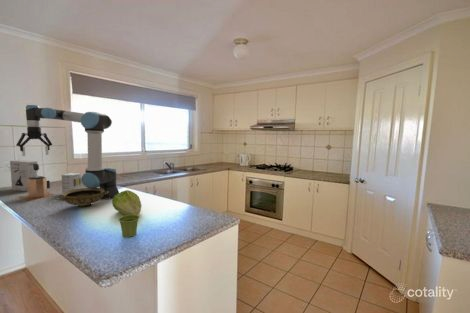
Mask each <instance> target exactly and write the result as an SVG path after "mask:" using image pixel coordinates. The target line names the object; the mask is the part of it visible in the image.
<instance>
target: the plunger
mask: <svg viewBox="0 0 470 313" xmlns="http://www.w3.org/2000/svg"><path fill="white" fill-rule="evenodd" d="M33 170H35V172H36V177H38V176H39V174H38V175H37V170H38V171H39V170H40V165H39V163H38V162H37V164H33Z"/></svg>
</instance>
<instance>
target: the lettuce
mask: <svg viewBox="0 0 470 313" xmlns="http://www.w3.org/2000/svg"><path fill="white" fill-rule="evenodd" d="M111 202H112V207H113V208H114V210H115V211H117V212H118V213H120V214H121V215H124V216H126V215H138V216H139V215H140V214H141V211H142V202H141V200H140V197H139V195H138V194H137V193H135V192H134V191H132V190H129V189H126V190H123V191H122V190H121V191H119V194H117V195H115V196H114V198H112V200H111Z"/></svg>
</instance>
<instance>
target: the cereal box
mask: <svg viewBox="0 0 470 313" xmlns="http://www.w3.org/2000/svg"><path fill="white" fill-rule="evenodd" d="M37 163H38V160H26V159H25V160H24V159H17V160H15V159H14V160H10V161H9V165H10V182H11V190H14V191H22V192H28V189H27V179H28V178H29V177H36V172H35V170H33V164H37ZM37 175H38V176H39V170H37Z"/></svg>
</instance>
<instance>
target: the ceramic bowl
mask: <svg viewBox="0 0 470 313" xmlns="http://www.w3.org/2000/svg"><path fill="white" fill-rule="evenodd" d="M103 193H104V194H103ZM108 193H109V192H108V191H105V192H104V189H101V188H100V187H97V188H87V187H84V188H83V187H81V189H74V190H69V191H66V192H64V193H63V194H62V193H61V194H62V196H63V197H57V198H56V201H62V202H63V201H64V202H65V203H66V204H69V205H71V206H77V208H88V207H91V206H92V204H95V203H96V202H97V203H98V202H99V201H101V200H103V199H102V197H103V195H105V194H108Z"/></svg>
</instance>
